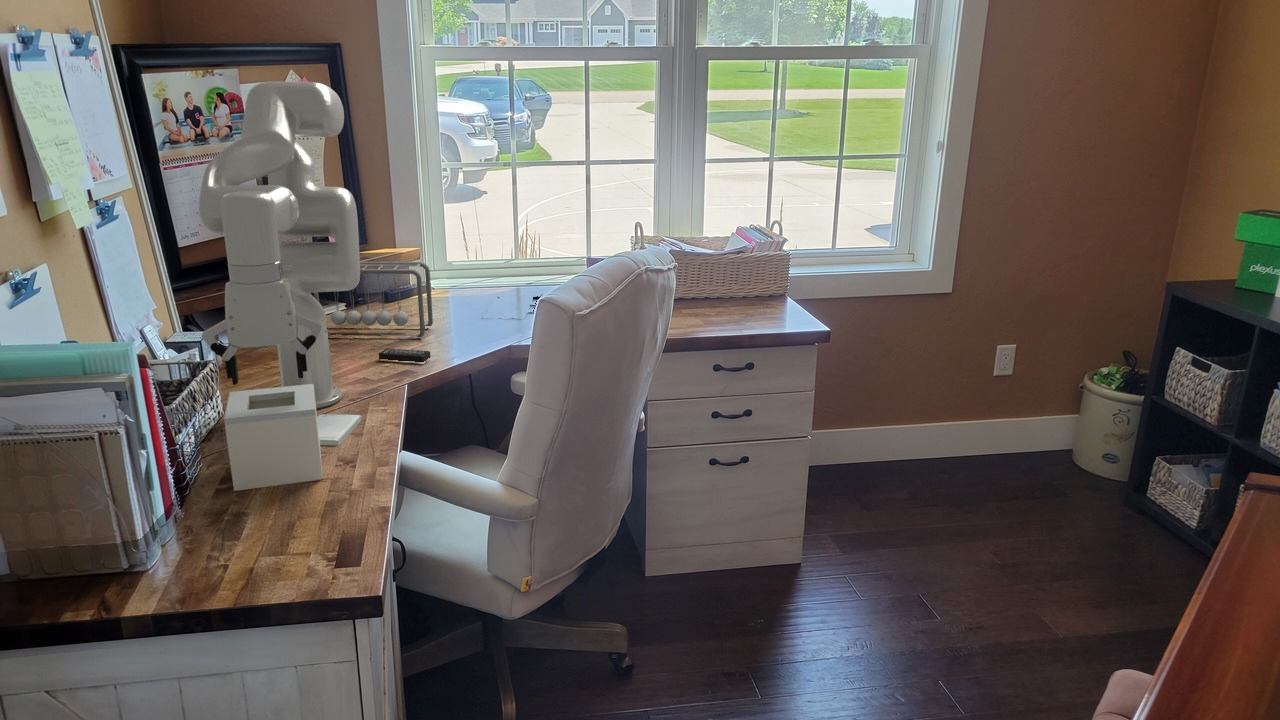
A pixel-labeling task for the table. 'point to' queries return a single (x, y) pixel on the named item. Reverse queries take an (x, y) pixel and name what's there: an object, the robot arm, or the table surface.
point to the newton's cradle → (383, 316)
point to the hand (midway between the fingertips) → (268, 379)
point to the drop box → (273, 436)
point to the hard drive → (336, 427)
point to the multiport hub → (404, 355)
